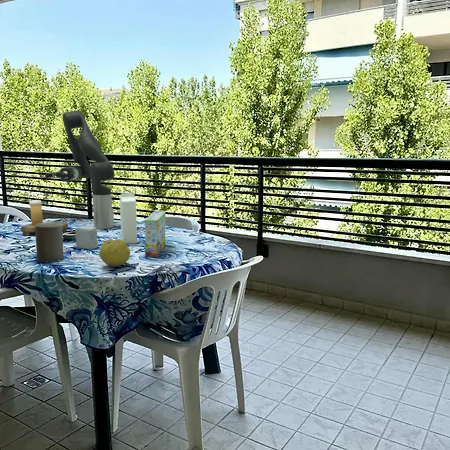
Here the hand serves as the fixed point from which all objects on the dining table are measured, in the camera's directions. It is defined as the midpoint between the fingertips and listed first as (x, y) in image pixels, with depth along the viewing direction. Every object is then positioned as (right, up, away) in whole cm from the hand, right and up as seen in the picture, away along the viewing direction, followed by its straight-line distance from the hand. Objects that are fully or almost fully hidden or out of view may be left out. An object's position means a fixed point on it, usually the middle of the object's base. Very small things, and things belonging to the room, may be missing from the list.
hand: (53, 176), depth 233 cm
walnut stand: (+1, -29, -14) cm, 32 cm away
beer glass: (-3, -25, -14) cm, 28 cm away
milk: (+45, -33, -30) cm, 63 cm away
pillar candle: (+21, -39, -58) cm, 73 cm away
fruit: (+48, -41, -67) cm, 92 cm away
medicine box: (+29, -35, -41) cm, 61 cm away
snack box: (+59, -36, -44) cm, 82 cm away
